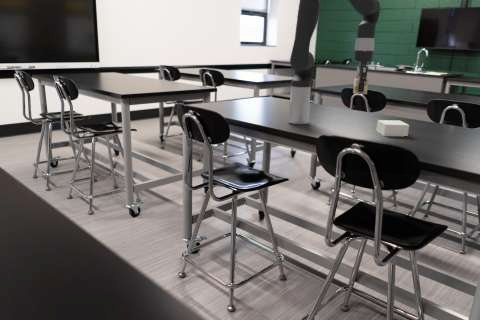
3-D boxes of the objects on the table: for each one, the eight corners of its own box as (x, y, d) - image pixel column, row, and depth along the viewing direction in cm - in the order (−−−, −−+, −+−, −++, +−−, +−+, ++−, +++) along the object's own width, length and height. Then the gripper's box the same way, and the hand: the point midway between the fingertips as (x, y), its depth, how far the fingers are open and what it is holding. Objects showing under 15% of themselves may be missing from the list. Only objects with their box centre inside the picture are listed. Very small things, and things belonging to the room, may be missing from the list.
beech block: (354, 93, 168) (355, 79, 166) (353, 92, 173) (354, 78, 171) (366, 94, 167) (368, 79, 165) (365, 92, 172) (366, 78, 170)
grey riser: (383, 136, 168) (385, 124, 166) (376, 131, 177) (377, 120, 176) (407, 136, 168) (409, 125, 166) (398, 131, 177) (400, 120, 176)
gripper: (352, 49, 172) (349, 89, 177) (356, 49, 158) (352, 92, 163) (370, 49, 171) (366, 89, 176) (376, 50, 157) (371, 93, 162)
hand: (359, 91), depth 170 cm, fingers closed on beech block, 5 cm apart
